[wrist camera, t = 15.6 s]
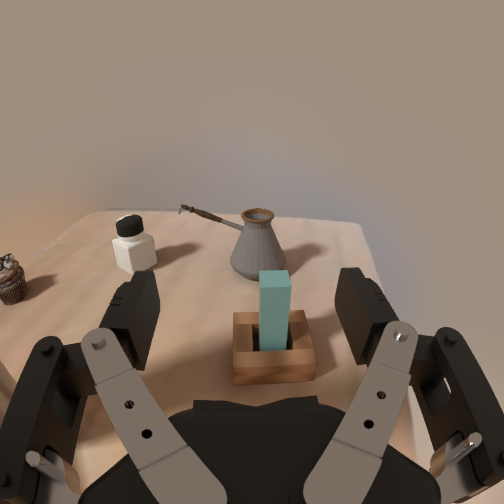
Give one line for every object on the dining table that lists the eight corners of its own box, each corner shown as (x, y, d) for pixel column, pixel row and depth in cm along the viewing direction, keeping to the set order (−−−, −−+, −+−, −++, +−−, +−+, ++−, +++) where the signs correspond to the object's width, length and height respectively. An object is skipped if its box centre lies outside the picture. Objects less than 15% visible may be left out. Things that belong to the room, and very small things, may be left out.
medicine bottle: (158, 263, 66) (150, 215, 60) (134, 277, 61) (122, 227, 55) (141, 255, 70) (132, 209, 64) (118, 267, 65) (107, 220, 59)
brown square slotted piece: (234, 384, 38) (232, 367, 36) (234, 330, 47) (233, 312, 46) (313, 380, 38) (317, 362, 36) (301, 328, 48) (303, 309, 46)
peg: (259, 364, 41) (260, 287, 34) (258, 346, 44) (259, 270, 38) (284, 363, 41) (291, 286, 34) (281, 345, 44) (287, 270, 38)
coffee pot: (283, 257, 68) (285, 195, 61) (286, 286, 58) (290, 215, 51) (191, 256, 69) (185, 195, 62) (180, 284, 59) (169, 215, 52)
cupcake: (-1, 293, 53) (-15, 259, 48) (28, 280, 59) (16, 245, 54) (0, 312, 47) (-17, 275, 42) (32, 297, 53) (17, 259, 48)
